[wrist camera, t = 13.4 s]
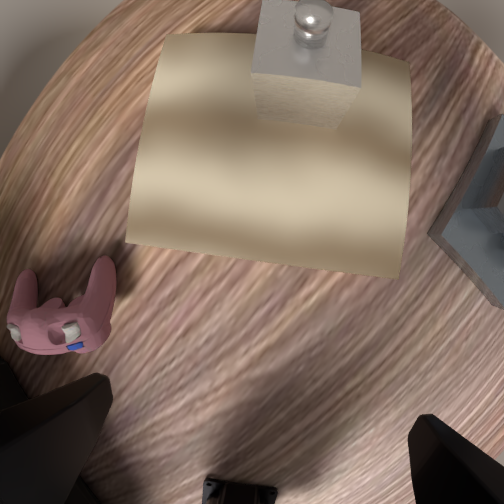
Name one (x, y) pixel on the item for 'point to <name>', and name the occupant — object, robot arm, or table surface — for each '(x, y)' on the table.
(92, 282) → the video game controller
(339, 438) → the table surface
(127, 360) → the table surface
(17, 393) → the black hard case
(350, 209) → the beige wooden slab
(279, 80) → the gray knob block
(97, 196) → the table surface
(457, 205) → the gray stepped fixture
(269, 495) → the robot arm
